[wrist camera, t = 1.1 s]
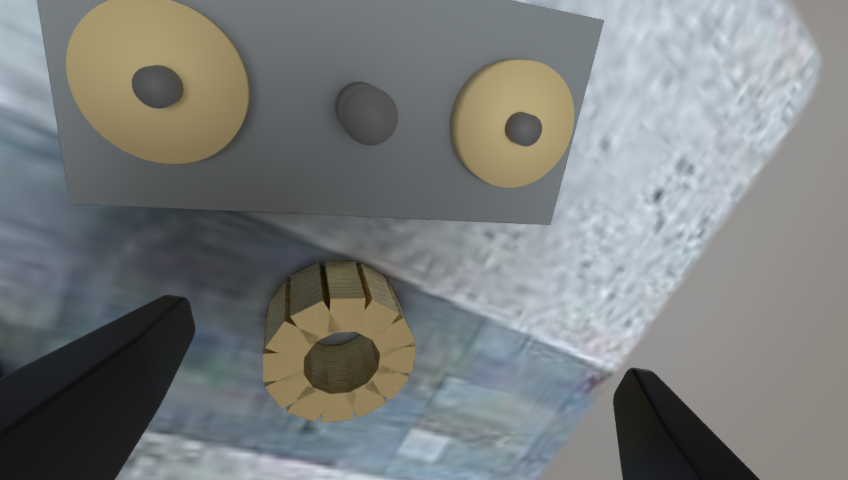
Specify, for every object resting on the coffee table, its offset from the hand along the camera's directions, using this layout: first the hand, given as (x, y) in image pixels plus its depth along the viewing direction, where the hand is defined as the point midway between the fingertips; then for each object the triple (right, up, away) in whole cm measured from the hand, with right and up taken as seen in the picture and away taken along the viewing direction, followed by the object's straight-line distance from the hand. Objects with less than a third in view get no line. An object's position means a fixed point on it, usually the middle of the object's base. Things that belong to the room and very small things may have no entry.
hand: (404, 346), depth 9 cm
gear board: (-3, +8, +9) cm, 12 cm away
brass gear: (-4, -2, +13) cm, 14 cm away
